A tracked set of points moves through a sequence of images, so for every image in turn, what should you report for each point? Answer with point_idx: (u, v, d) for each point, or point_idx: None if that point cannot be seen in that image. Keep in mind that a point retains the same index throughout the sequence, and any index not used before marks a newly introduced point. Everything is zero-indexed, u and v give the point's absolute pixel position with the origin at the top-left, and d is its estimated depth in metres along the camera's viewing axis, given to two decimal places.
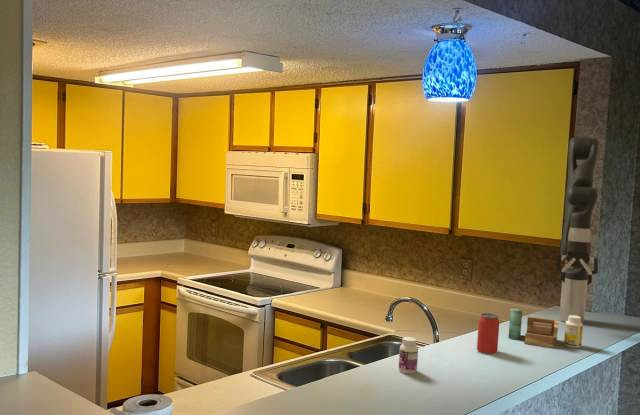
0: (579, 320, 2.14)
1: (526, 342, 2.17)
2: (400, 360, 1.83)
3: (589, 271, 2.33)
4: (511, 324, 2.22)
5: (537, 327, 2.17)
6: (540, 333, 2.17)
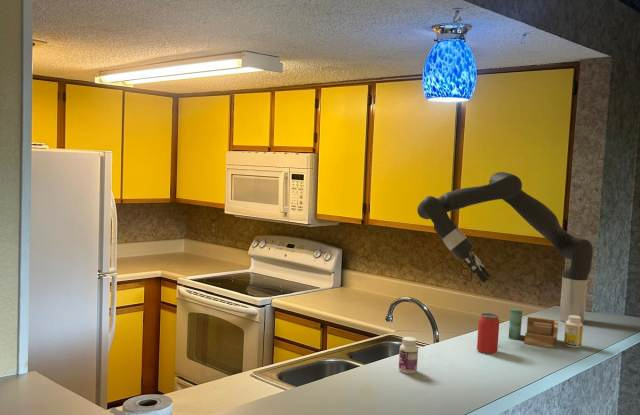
0: (579, 320, 2.14)
1: (526, 342, 2.17)
2: (400, 360, 1.83)
3: None
4: (511, 324, 2.22)
5: (537, 327, 2.17)
6: (540, 333, 2.17)
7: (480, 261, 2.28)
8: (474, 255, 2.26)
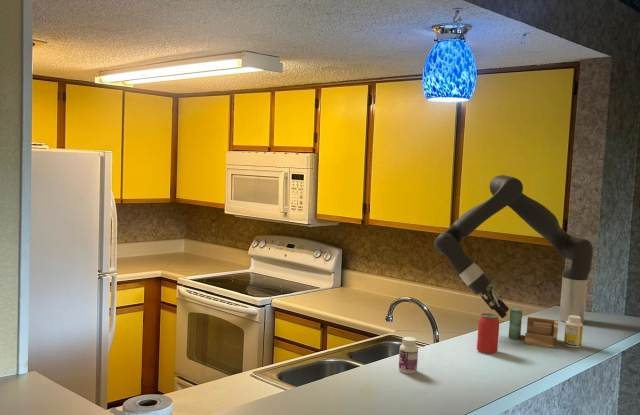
0: (579, 320, 2.14)
1: (526, 342, 2.17)
2: (400, 360, 1.83)
3: None
4: (511, 324, 2.22)
5: (537, 327, 2.17)
6: (540, 333, 2.17)
7: (498, 295, 2.27)
8: (492, 290, 2.26)
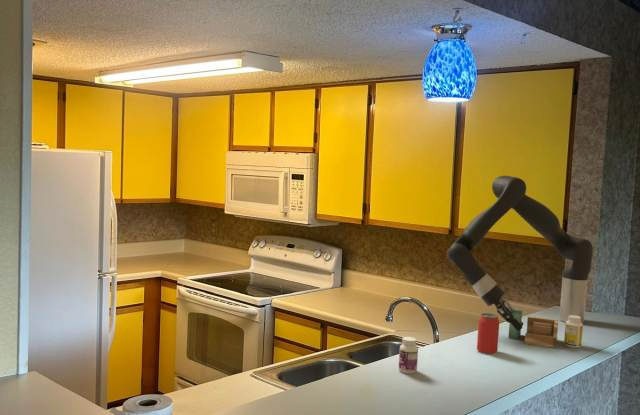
0: (579, 320, 2.14)
1: (526, 342, 2.17)
2: (400, 360, 1.83)
3: None
4: (511, 324, 2.22)
5: (537, 327, 2.17)
6: (540, 333, 2.17)
7: (512, 308, 2.25)
8: (505, 301, 2.24)
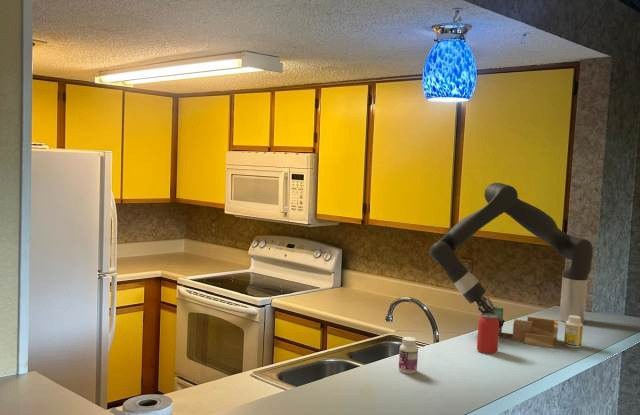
0: (579, 320, 2.14)
1: (526, 342, 2.17)
2: (400, 360, 1.83)
3: None
4: None
5: (518, 324, 2.19)
6: (520, 330, 2.19)
7: None
8: (486, 298, 2.27)
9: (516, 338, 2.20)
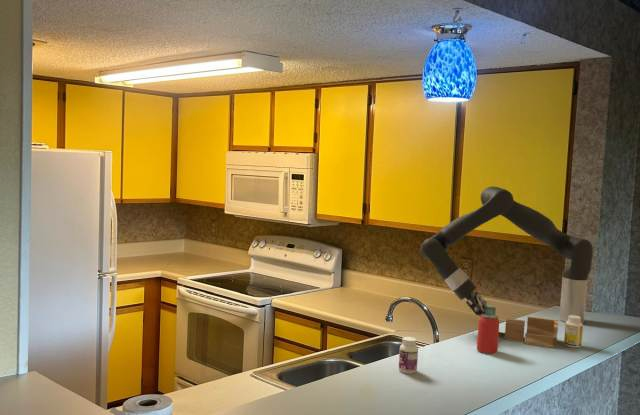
0: (579, 320, 2.14)
1: (526, 342, 2.17)
2: (400, 360, 1.83)
3: None
4: None
5: (510, 323, 2.20)
6: (513, 329, 2.20)
7: (483, 301, 2.29)
8: (477, 295, 2.28)
9: (508, 336, 2.21)
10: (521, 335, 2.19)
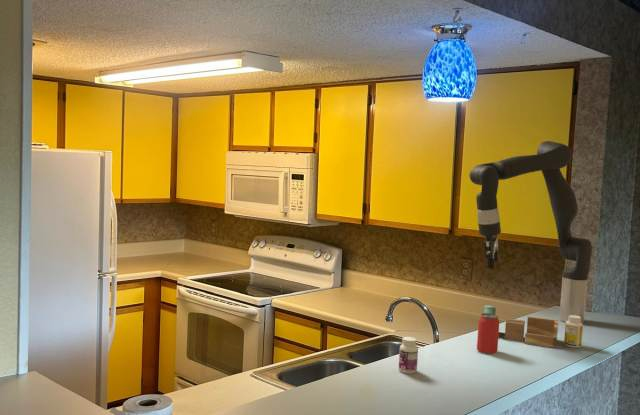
0: (579, 320, 2.14)
1: (526, 342, 2.17)
2: (400, 360, 1.83)
3: None
4: None
5: (510, 323, 2.20)
6: (513, 329, 2.20)
7: (497, 245, 2.28)
8: (496, 239, 2.25)
9: (508, 336, 2.21)
10: (521, 335, 2.19)
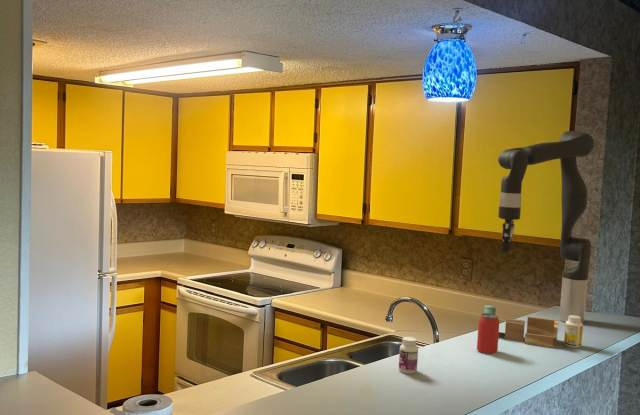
0: (579, 320, 2.14)
1: (526, 342, 2.17)
2: (400, 360, 1.83)
3: None
4: None
5: (510, 323, 2.20)
6: (513, 329, 2.20)
7: (513, 233, 2.29)
8: (513, 225, 2.26)
9: (508, 336, 2.21)
10: (521, 335, 2.19)
